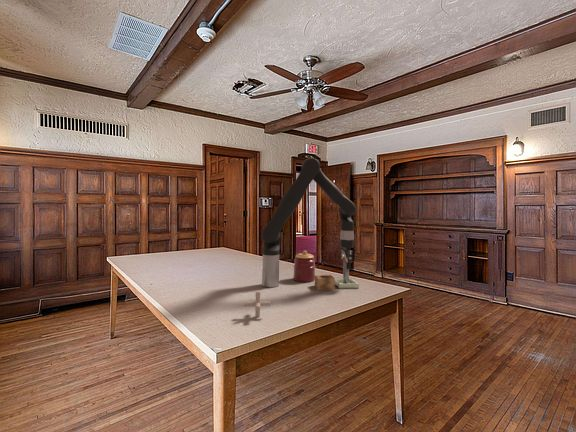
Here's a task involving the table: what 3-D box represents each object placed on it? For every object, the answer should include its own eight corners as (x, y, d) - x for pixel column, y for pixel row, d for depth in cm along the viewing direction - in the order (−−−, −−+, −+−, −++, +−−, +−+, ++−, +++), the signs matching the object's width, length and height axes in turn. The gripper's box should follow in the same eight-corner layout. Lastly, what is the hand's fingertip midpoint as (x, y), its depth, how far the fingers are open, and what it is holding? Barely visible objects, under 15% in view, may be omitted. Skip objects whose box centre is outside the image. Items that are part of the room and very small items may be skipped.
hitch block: (318, 290, 160) (318, 278, 160) (314, 285, 169) (314, 274, 169) (334, 289, 162) (334, 278, 161) (330, 285, 171) (330, 274, 170)
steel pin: (343, 285, 168) (344, 258, 168) (342, 284, 171) (342, 257, 171) (349, 285, 169) (350, 258, 168) (347, 284, 172) (348, 257, 171)
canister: (308, 283, 173) (309, 252, 173) (289, 280, 180) (289, 250, 180) (318, 279, 184) (319, 250, 184) (300, 276, 191) (301, 248, 191)
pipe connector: (245, 312, 125) (246, 288, 125) (269, 312, 126) (270, 288, 125) (244, 321, 115) (244, 295, 115) (270, 321, 116) (271, 295, 116)
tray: (339, 288, 164) (339, 284, 164) (333, 283, 175) (333, 279, 175) (358, 288, 165) (358, 283, 165) (352, 283, 176) (352, 278, 176)
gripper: (336, 237, 176) (336, 265, 176) (344, 240, 162) (343, 270, 162) (349, 237, 177) (348, 265, 177) (358, 240, 163) (357, 270, 163)
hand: (346, 267), depth 170 cm, fingers open, 8 cm apart
